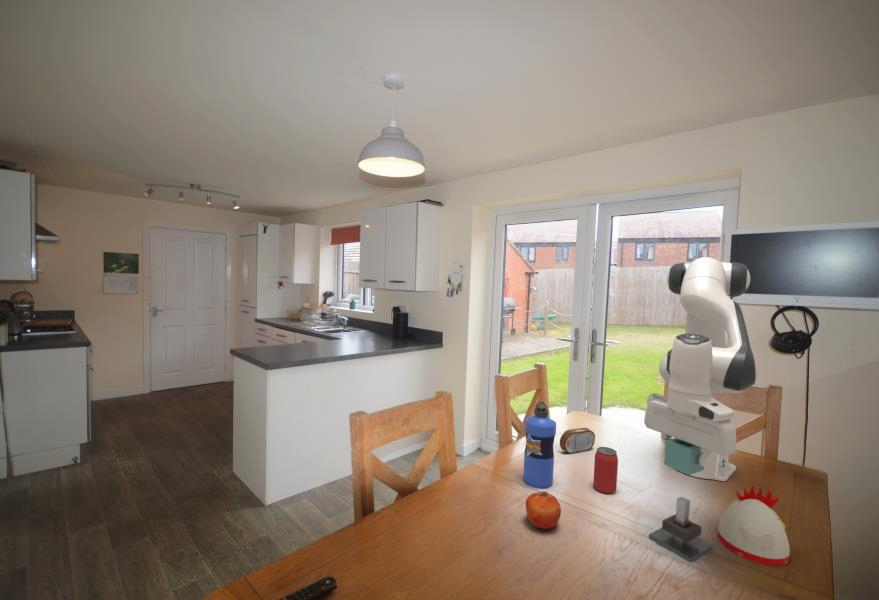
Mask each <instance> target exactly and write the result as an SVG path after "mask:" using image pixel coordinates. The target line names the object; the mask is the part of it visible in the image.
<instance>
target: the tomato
mask: <svg viewBox="0 0 879 600" xmlns="http://www.w3.org/2000/svg"><path fill="white" fill-rule="evenodd" d="M525 509H526V511H525V512H526V516H527V519H528V520H529V521H530V523H531V524H532V525H533V526H534V527H536V528H538V529H539V528H540V529H542V530H549V529H551V528H554V527H556V525H557V523H558V522H559V520H560V518H561V515H562V507H561V505H560V502H559V501H558V498H557V497H555V496H554V495H553V494H551V493H549V492H548V491H546V490H545V491H539V492H534V493H531V494H530V495H528V496H527V498H526V500H525Z"/></svg>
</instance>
